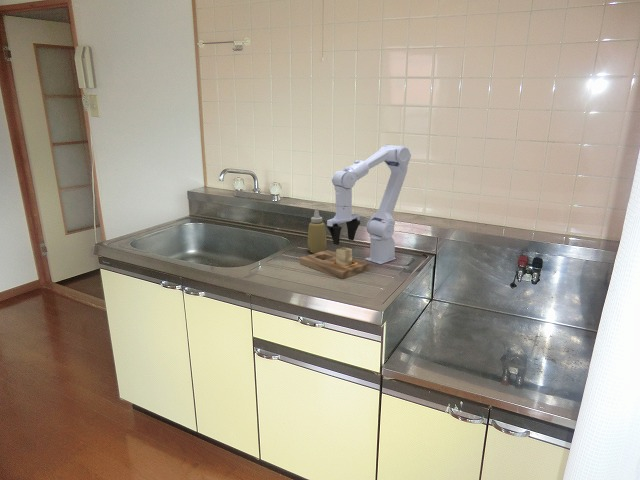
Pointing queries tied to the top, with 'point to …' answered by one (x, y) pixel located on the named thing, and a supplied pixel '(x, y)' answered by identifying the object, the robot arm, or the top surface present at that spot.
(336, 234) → the robot arm
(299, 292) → the top surface
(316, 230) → the squeeze bottle
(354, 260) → the wooden peg tray
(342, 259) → the peg
